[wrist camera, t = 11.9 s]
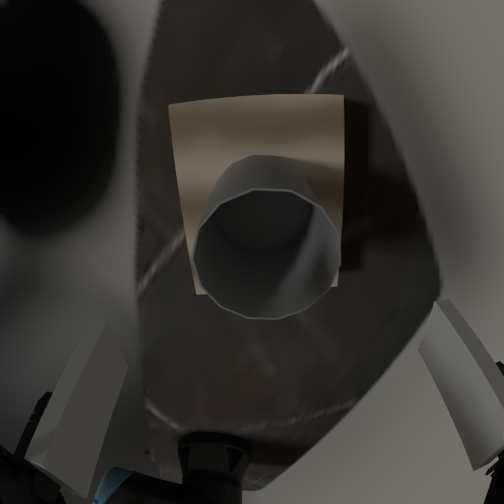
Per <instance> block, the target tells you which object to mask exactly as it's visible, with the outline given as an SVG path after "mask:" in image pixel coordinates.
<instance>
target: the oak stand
mask: <svg viewBox="0 0 504 504" xmlns="http://www.w3.org/2000/svg"><path fill="white" fill-rule="evenodd" d="M168 106H169V116H170V126H171V135H172V143H173V151H174V159H175V167H176V174H177V182H178V189H179V196H180V202H181V209H182V215H183V222H184V228H185V234H186V240H187V246H188V251H189V257H190V262H191V268H192V273H193V279H194V284H195V289H196V294H207V293H206V292H205V291H204V290H203V289H202V288H201V287H200V286H199V282H198V279H197V276H196V273H195V270H194V267H193V264H192V261H191V255H192V250H193V245H194V240H195V236H196V231H197V227H198V225H199V222H200V220H201V217H202V215H203V212H204V210H205V208H206V205H207V203H208V200H209V198H210V196H211V193H212V191H213V188H214V186H215V184H216V181H217V180H218V179H219V178H220V176H221V175H222V174H223V173H224V172H225V171H226V169H227V168H228V167H229V166H230V165H231V164H232V163H234V162H236V161H239V160H241V159H243V158H246V157H248V156H251V155H272V156H278V157H279V158H281V159H283V160H285V161H287V162H289V163H290V164H292V165H294V166H296V167H297V169H298V170H299V172H300V173H301V174H302V176H303V177H304V179H305V180H306V182H307V183H308V185H309V186H310V188H311V189H312V191H313V192H314V194H315V195H316V197H317V199H318V200H319V202H320V203H321V205H322V206H323V208H324V210H325V211H326V213H327V214H328V216H329V217H330V219H331V221H332V222H333V224H334V226H335V227H336V229H337V230H338V232H339V234H340V248H341V234H342V216H343V193H344V95H327V94H279V95H255V96H240V97H228V98H217V99H208V100H200V101H192V102H184V103H177V104H171V105H168ZM338 273H339V270H338V272H337V274H336V276H335V278H334V281H333V283H332V285H331V287H333V286H337V283H338Z"/></svg>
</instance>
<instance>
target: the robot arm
mask: <svg viewBox="0 0 504 504" xmlns="http://www.w3.org/2000/svg"><path fill="white" fill-rule="evenodd" d="M418 350H419V352H420V354H421V356H422V358H423V359H424V361H425V363H426V365H427V367H428V369H429V371H430V373H431V375H432V377H433V379H434V381H435V383H436V385H437V387H438V389H439V391H440V393H441V396H442V398H443V400H444V402H445V404H446V406H447V408H448V410H449V413H450V415H451V417H452V419H453V422H454V424H455V426H456V428H457V430H458V433H459V435H460V438H461V440H462V443H463V445H464V448H465V450H466V452H467V455H468V458H469V460H470V463H471V465H472V468H473V471H475V470H477V469H479V468H481V467H483V466H485V465H487V464H489V463H490V462H491V461H492V460H493V459H494V458H495V457H497V456H498V458H499V460H498V461H497V462H496V463H495V464H494V465H493V466H491V467H490V468H489V469H488V470H487V472H486V474H485V475H488V474H490V473H491V472H492V471H493V470H494V472H493V473H492V474H491V477H492V480H491V483H490V486H489V489H488V492H487V495H486V498H485V501H484V504H504V364H503V363H501V362H500V361H499V362H497V363H495V362H494V361H493V359H492V357H491V356H490V354H489V353H488V352H487V350H486V349H485V347H484V346H483V344H482V343H481V341H480V340H479V338H478V337H477V336H476V334H475V333H474V331H473V330H472V329H471V327H470V326H469V325H468V323H467V322H466V321H465V319H464V318H463V317H462V315H461V314H460V313H459V311H458V310H457V309H456V308H455V306H454V305H453V304H452V302H451V301H450V300H449V299H446V300H440V301H435V302H434V305H433V309H432V312H431V315H430V318H429V321H428V324H427V327H426V330H425V333H424V335H423V338H422V341H421V343H420V346H419V349H418ZM127 370H128V366H127V364H126V362H125V360H124V358H123V356H122V354H121V351H120V349H119V347H118V345H117V342H116V340H115V338H114V335H113V333H112V331H111V328H110V326H109V324H108V322H107V321H92V322H91V324H90V326H89V327H88V329H87V331H86V332H85V335H84V336H83V338H82V340H81V341H80V343H79V345H78V347H77V348H76V350H75V352H74V354H73V356H72V357H71V359H70V361H69V363H68V365H67V367H66V369H65V371H64V373H63V375H62V376H61V378H60V380H59V382H58V385H57V386H56V388H55V390H54V392H53V393H52V392H46V393H45V394H44V395H43V396H42V397H41V398H40V399H39V400H38V402H37V405H36V406H35V409H34V411H33V414H32V415H31V417H30V419H29V422H28V423H27V425H26V427H25V430H24V432H23V434H22V436H21V439H20V441H19V443H18V446H17V448H16V450H15V452H14V454H13V455H12V454H11V453H10V452H8V451H7V450H6V449H5V448H4V447H3V446H2V445H1V444H0V504H66V502H65V500H64V497H63V496H62V494H61V492H60V488H61V487H62V488H64V489H65V490H66V491H68V492H70V493H72V494H75V495H78V496H81V497H84V498H87V495H88V492H89V488H90V485H91V481H92V477H93V474H94V470H95V467H96V463H97V460H98V456H99V453H100V450H101V446H102V443H103V440H104V437H105V433H106V430H107V427H108V424H109V421H110V418H111V415H112V412H113V409H114V407H115V404H116V401H117V398H118V395H119V392H120V389H121V387H122V384H123V381H124V378H125V375H126V373H127ZM178 457H179V461H180V466H181V470H182V474H183V478H182V484H178V483H174V482H170V481H166V480H162V479H158V478H154V477H151V476H148V475H144V474H141V473H138V472H136V471H134V470H132V471H131V470H127V469H124V468H120V467H111V468H110V469H108V470H107V472H106V473H105V475H104V477H103V479H102V480H101V483H100V485H99V487H98V489H97V492H96V494H95V499H94V501H93V503H92V504H242V480H243V478H244V475H245V473H246V470H247V468H248V465H249V463H250V460H251V447H250V446H249V445H248V444H247V443H246V442H245V441H243V440H241V439H238V438H235V437H232V436H228V435H223V434H216V433H196V434H190V435H187V436H184V437H183V438H181V439H180V440H179V444H178Z"/></svg>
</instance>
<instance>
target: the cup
mask: <svg viewBox="0 0 504 504" xmlns="http://www.w3.org/2000/svg"><path fill="white" fill-rule="evenodd" d="M191 261H192V264H193V267H194V270H195V273H196V276H197V279H198V282H199V286H200V287H201V288H202V289H203V290H204V291H205V292H206V293H207V294H208V295H209V296H210V297H211V299H212V300H213V301H214V302H215V303H216V304H217V305H218V306H219V307H221V308H223V309H225V310H228V311H230V312H233V313H235V314H237V315H240V316H242V317H245V318H247V319H281V318H284V317H287V316H290V315H292V314H295V313H298V312H301V311H304V310H307V309H308V308H309V307H310V306H311V305H312V304H314V303H315V302H316V301H317V300H318V299H319V298H321V297H322V296H323V295H324V294H325V293H326V292H328V291H329V289H330V287H331V285H332V283H333V281H334V278H335V276H336V274H337V272H338V270H339V267H340V265H341V249H340V234H339V232H338V230H337V229H336V227H335V226H334V224H333V222H332V221H331V219H330V217H329V216H328V214H327V213H326V211H325V210H324V208H323V206H322V205H321V203H320V202H319V200H318V199H317V197H316V195H315V194H314V192H313V191H312V189H311V188H310V186H309V185H308V183H307V182H306V180H305V179H304V177H303V176H302V174H301V173H300V172H299V170H298V169H297V167H296V166H294V165H292V164H290V163H289V162H287V161H285V160H283V159H281V158H279V157H278V156H272V155H251V156H248V157H246V158H243V159H241V160H239V161H236V162H234V163H232V164H231V165H230V166H229V167H228V168H227V169H226V171H225V172H224V173H223V174H222V175H221V176H220V178H219V179H218V180H217V181H216V184H215V186H214V188H213V191H212V193H211V196H210V198H209V200H208V203H207V205H206V208H205V210H204V212H203V215H202V217H201V220H200V222H199V225H198V227H197V231H196V236H195V240H194V245H193V250H192V255H191Z"/></svg>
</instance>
